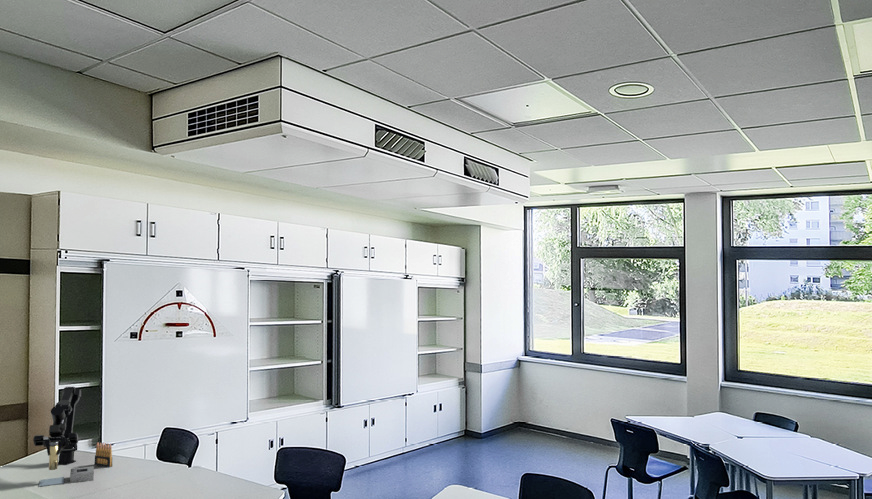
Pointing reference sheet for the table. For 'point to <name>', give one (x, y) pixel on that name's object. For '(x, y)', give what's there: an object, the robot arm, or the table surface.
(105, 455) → the ammunition clip
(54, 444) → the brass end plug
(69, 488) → the table surface
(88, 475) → the metal housing
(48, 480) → the rubber mat
